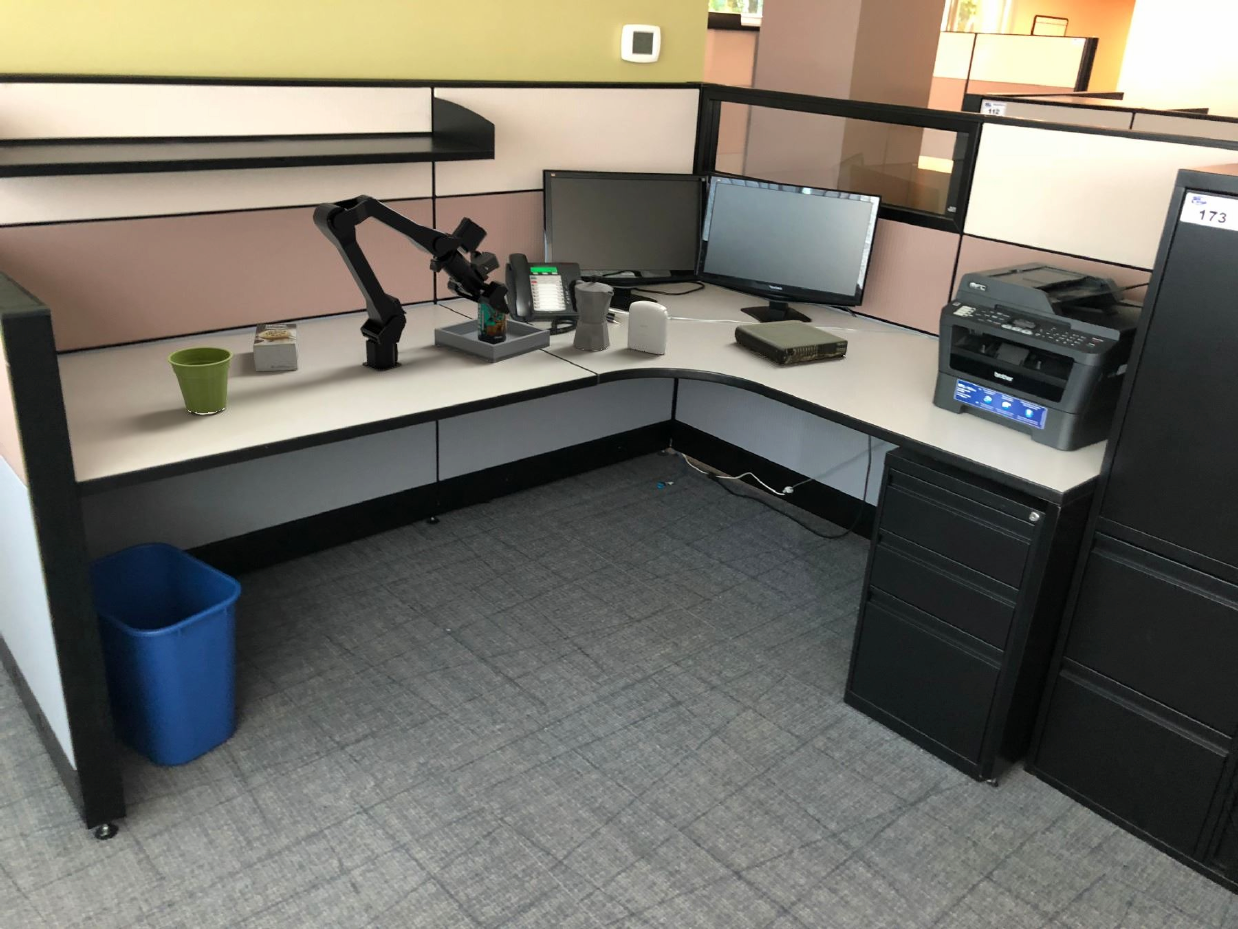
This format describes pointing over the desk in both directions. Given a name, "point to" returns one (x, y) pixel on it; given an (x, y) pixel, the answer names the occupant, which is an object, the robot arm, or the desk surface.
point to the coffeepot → (591, 313)
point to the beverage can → (491, 324)
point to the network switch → (790, 341)
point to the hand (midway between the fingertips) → (497, 308)
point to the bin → (516, 343)
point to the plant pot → (202, 377)
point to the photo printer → (647, 327)
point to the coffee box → (276, 347)
